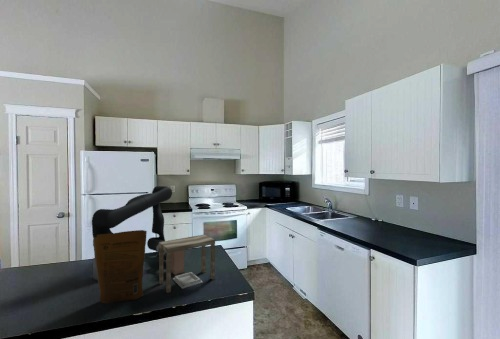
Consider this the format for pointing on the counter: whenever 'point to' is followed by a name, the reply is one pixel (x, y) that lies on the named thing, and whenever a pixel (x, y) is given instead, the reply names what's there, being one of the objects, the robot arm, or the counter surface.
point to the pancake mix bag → (120, 265)
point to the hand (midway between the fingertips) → (174, 257)
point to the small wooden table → (184, 245)
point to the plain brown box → (177, 262)
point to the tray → (187, 280)
